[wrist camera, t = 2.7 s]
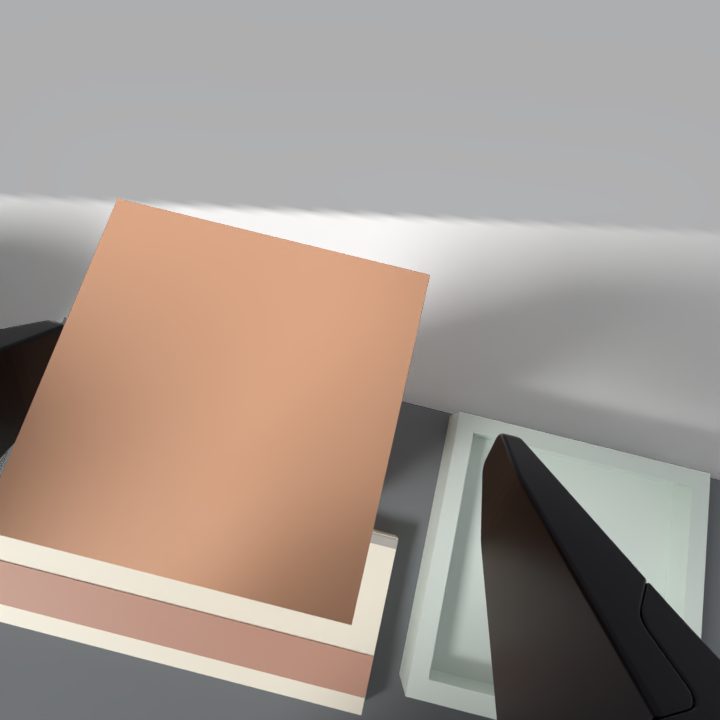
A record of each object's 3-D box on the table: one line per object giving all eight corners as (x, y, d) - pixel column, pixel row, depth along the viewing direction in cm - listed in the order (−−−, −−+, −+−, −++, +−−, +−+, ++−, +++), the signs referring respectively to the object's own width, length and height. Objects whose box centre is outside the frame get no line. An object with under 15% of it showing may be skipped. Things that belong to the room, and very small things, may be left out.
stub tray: (659, 740, 15) (693, 770, 14) (399, 673, 15) (405, 696, 14) (678, 472, 17) (710, 473, 16) (450, 415, 17) (460, 411, 16)
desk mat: (745, 952, 14) (756, 966, 14) (-101, 729, 15) (-113, 737, 14) (759, 492, 17) (769, 493, 17) (70, 320, 18) (64, 317, 17)
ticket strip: (360, 702, 15) (361, 716, 14) (-14, 605, 15) (-34, 613, 14) (395, 534, 16) (398, 538, 15) (50, 447, 16) (34, 446, 16)
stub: (343, 509, 16) (351, 625, 5) (237, 482, 16) (-22, 529, 5) (369, 403, 17) (430, 274, 6) (268, 378, 17) (117, 198, 6)
